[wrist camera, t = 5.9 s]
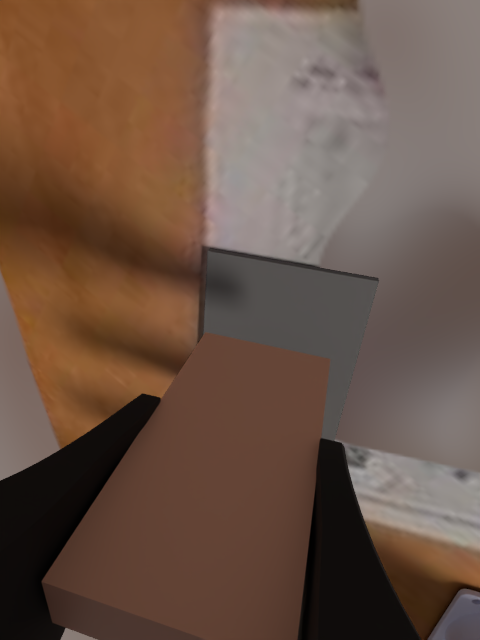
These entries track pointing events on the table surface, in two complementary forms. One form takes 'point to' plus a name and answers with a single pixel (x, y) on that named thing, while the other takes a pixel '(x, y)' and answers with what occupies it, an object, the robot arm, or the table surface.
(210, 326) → the grey flat rectangular board
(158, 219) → the table surface
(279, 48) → the table surface
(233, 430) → the domino
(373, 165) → the table surface
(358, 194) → the table surface
